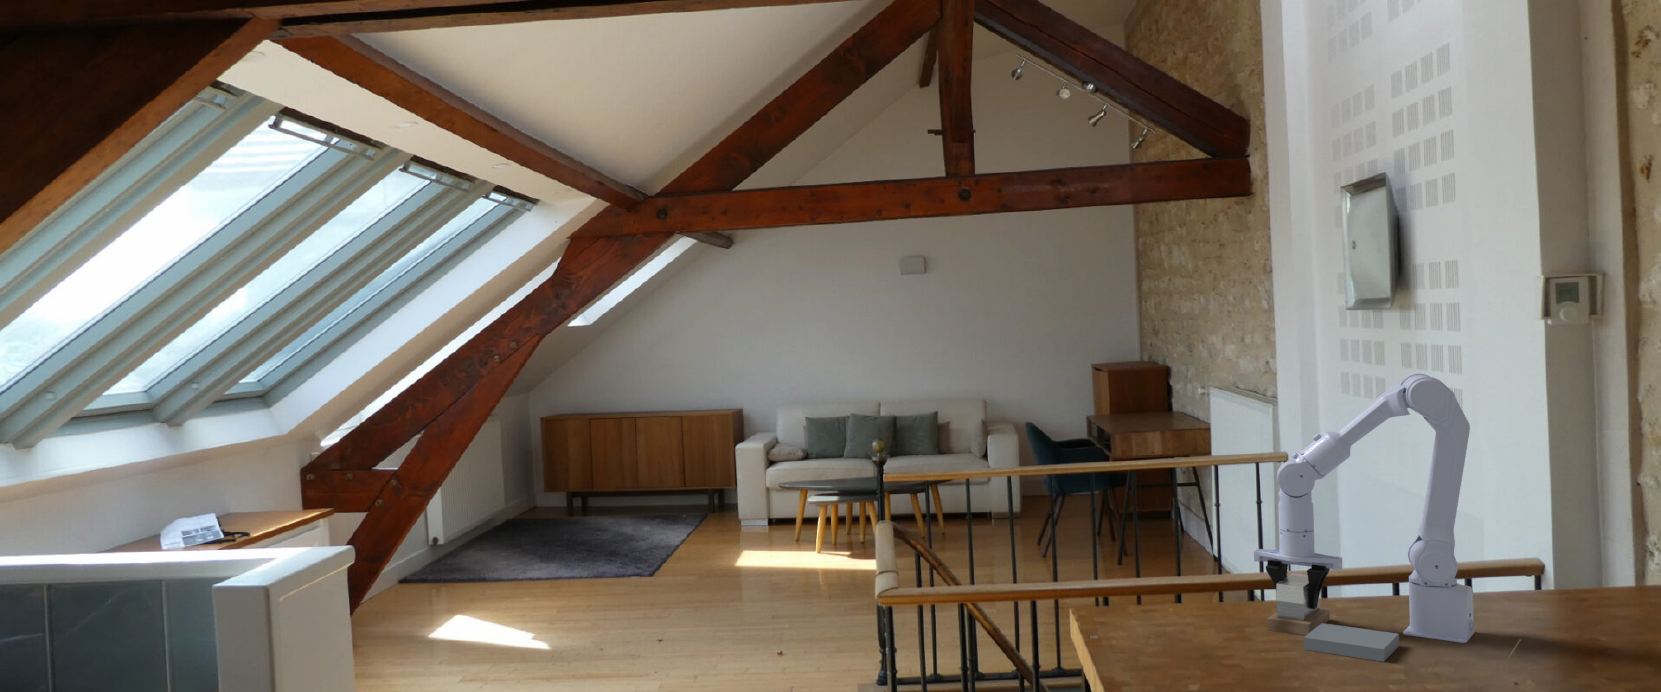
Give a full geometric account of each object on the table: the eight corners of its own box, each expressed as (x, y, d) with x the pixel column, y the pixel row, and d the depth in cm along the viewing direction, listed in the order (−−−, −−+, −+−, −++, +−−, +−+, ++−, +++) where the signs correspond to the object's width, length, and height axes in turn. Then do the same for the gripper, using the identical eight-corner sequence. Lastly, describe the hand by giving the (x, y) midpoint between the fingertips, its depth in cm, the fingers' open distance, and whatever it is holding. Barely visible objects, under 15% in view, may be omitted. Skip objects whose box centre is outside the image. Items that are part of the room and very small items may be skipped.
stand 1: (1329, 619, 197) (1329, 608, 197) (1309, 636, 188) (1309, 624, 188) (1289, 614, 202) (1288, 603, 202) (1267, 629, 192) (1267, 618, 192)
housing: (1319, 609, 197) (1318, 576, 197) (1304, 621, 190) (1303, 586, 190) (1293, 606, 200) (1292, 573, 199) (1277, 617, 193) (1276, 583, 193)
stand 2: (1399, 645, 181) (1398, 633, 181) (1383, 661, 173) (1383, 649, 173) (1322, 634, 188) (1321, 622, 188) (1304, 649, 181) (1303, 637, 181)
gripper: (1346, 529, 193) (1348, 606, 193) (1262, 521, 202) (1264, 595, 202) (1335, 536, 187) (1337, 615, 188) (1248, 528, 197) (1251, 603, 197)
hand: (1298, 605), depth 195 cm, fingers closed on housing, 4 cm apart
